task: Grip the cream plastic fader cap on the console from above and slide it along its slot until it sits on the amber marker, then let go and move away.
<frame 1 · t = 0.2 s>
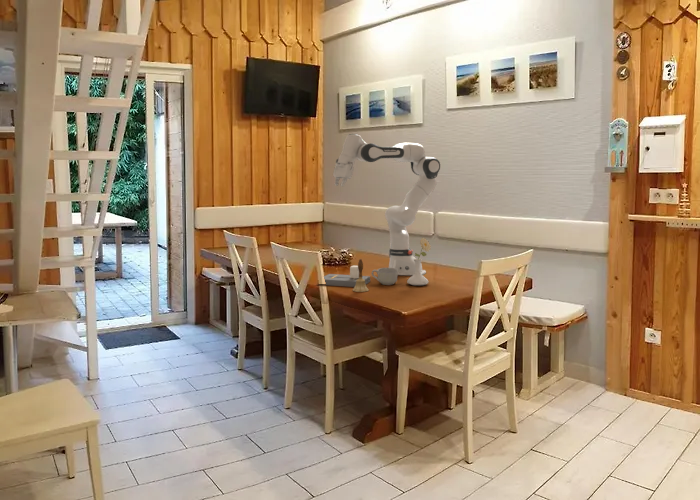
hand: (339, 185, 340), 52 cm above the table, tool tilted 20°, fingers open, 8 cm apart
flower in vase: (418, 285, 325), on the table
console: (344, 283, 330), on the table
fader: (355, 271, 328), point 6 cm above the table, slide at -6.0 cm
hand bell: (360, 290, 312), on the table
teacup: (384, 284, 328), on the table
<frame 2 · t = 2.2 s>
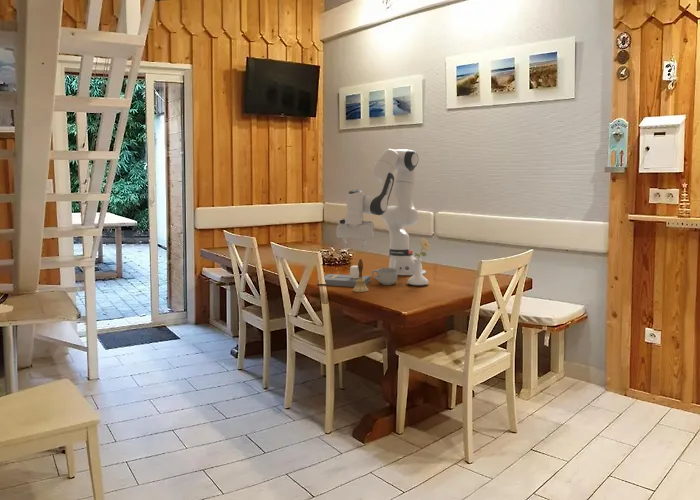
hand: (354, 246, 326), 20 cm above the table, tool pointing down, fingers open, 8 cm apart
nothing on the table moved.
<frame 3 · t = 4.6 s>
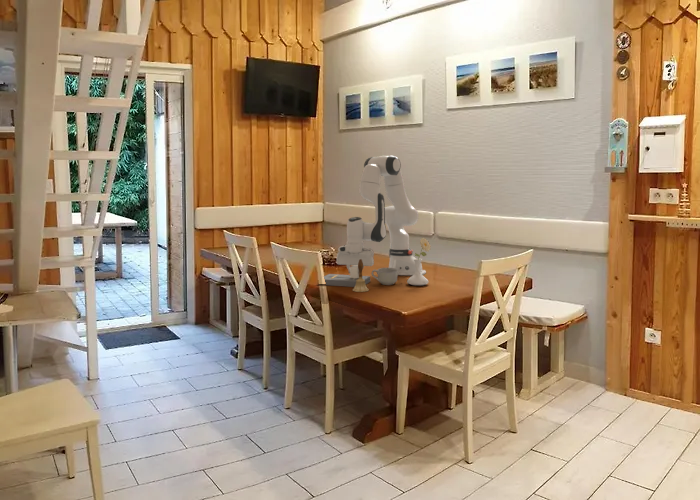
hand: (355, 273, 328), 6 cm above the table, tool pointing down, fingers closed on fader, 4 cm apart
fader: (355, 271, 328), point 7 cm above the table, slide at -6.0 cm, touching gripper
everything else where it was.
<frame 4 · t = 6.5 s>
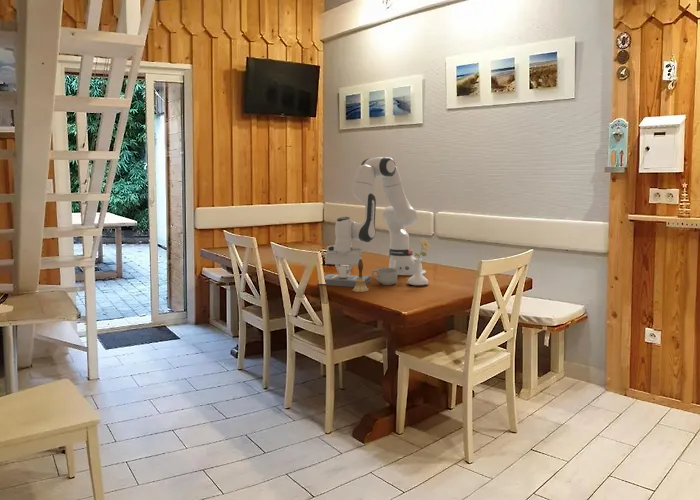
hand: (343, 272, 330), 6 cm above the table, tool pointing down, fingers closed on fader, 4 cm apart
fader: (343, 271, 330), point 6 cm above the table, slide at 0.5 cm, touching gripper
everything else where it was.
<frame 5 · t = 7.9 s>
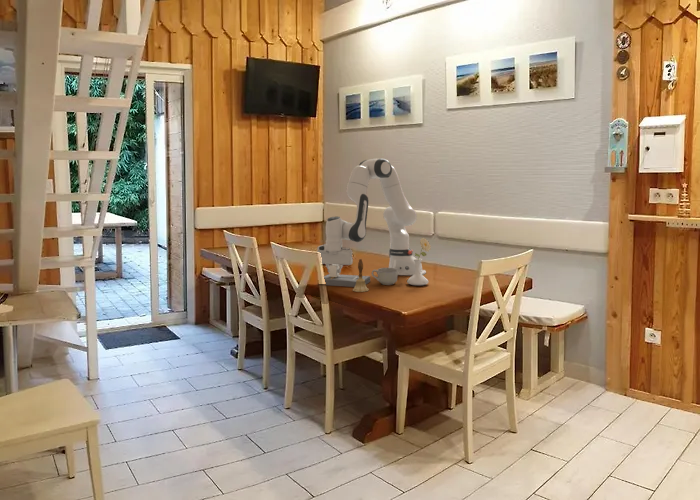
hand: (334, 272, 332), 6 cm above the table, tool pointing down, fingers closed on fader, 4 cm apart
fader: (334, 270, 331), point 6 cm above the table, slide at 5.9 cm, touching gripper
everything else where it was.
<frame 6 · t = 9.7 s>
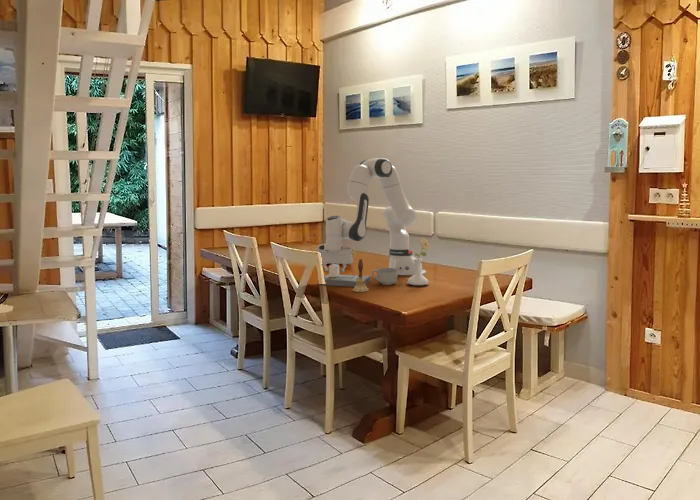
hand: (334, 271, 332), 6 cm above the table, tool pointing down, fingers open, 8 cm apart
fader: (334, 270, 331), point 6 cm above the table, slide at 6.0 cm
everything else where it was.
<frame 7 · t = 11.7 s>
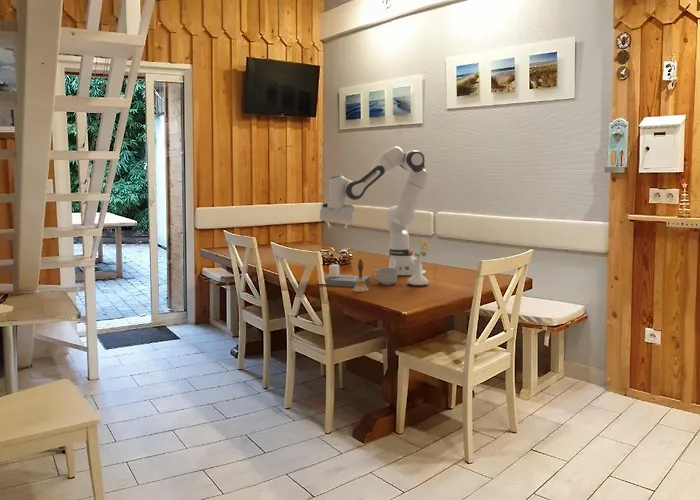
hand: (337, 228, 351), 27 cm above the table, tool pointing down, fingers open, 8 cm apart
nothing on the table moved.
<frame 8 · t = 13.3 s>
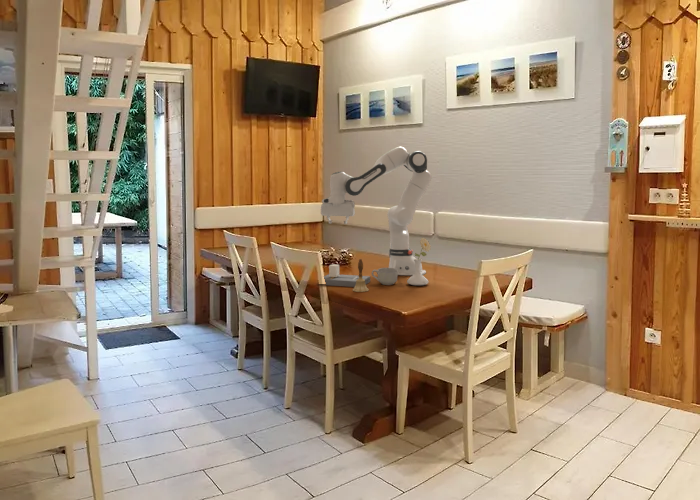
hand: (337, 223, 357), 29 cm above the table, tool pointing down, fingers open, 8 cm apart
nothing on the table moved.
at the end: fader slide at 6.0 cm; the gripper is holding nothing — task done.
